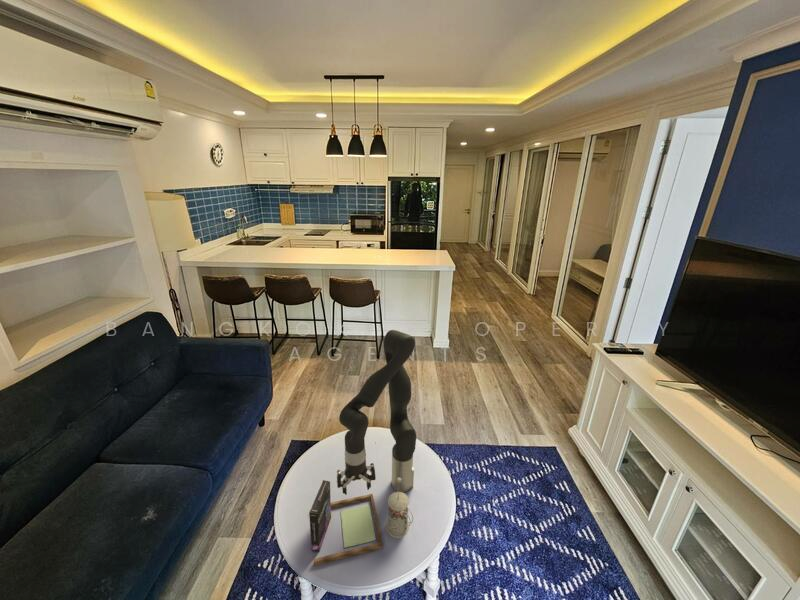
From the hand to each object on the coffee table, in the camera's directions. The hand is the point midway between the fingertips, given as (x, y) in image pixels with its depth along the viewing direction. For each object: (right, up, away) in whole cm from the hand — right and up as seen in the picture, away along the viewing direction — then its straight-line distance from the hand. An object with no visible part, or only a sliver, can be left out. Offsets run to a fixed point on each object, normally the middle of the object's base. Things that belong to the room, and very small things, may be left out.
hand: (356, 490), depth 124 cm
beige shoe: (+16, -18, +6) cm, 25 cm away
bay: (-5, -18, +5) cm, 19 cm away
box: (-14, -19, +3) cm, 23 cm away
